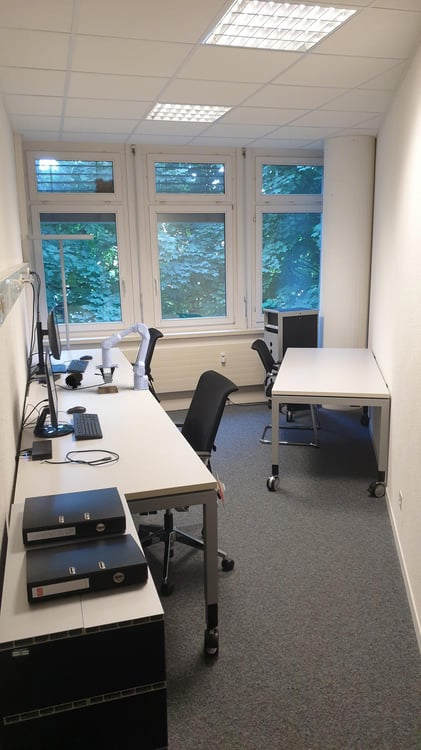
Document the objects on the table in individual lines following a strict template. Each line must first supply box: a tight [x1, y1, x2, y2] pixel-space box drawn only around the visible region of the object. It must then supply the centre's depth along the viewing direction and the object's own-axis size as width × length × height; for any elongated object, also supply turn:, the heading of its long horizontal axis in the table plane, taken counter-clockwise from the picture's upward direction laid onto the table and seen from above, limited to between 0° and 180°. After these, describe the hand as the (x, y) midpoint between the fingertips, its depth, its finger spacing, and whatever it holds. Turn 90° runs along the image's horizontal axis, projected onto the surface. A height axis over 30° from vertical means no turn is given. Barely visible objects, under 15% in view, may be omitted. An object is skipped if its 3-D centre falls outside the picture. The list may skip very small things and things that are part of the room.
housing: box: [103, 372, 113, 384], centre depth 356 cm, size 8×4×5 cm, turn 16°
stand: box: [97, 385, 119, 395], centre depth 358 cm, size 12×12×2 cm
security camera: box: [64, 371, 84, 390], centre depth 369 cm, size 7×18×10 cm, turn 174°
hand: (107, 379), depth 357 cm, fingers closed on housing, 4 cm apart
